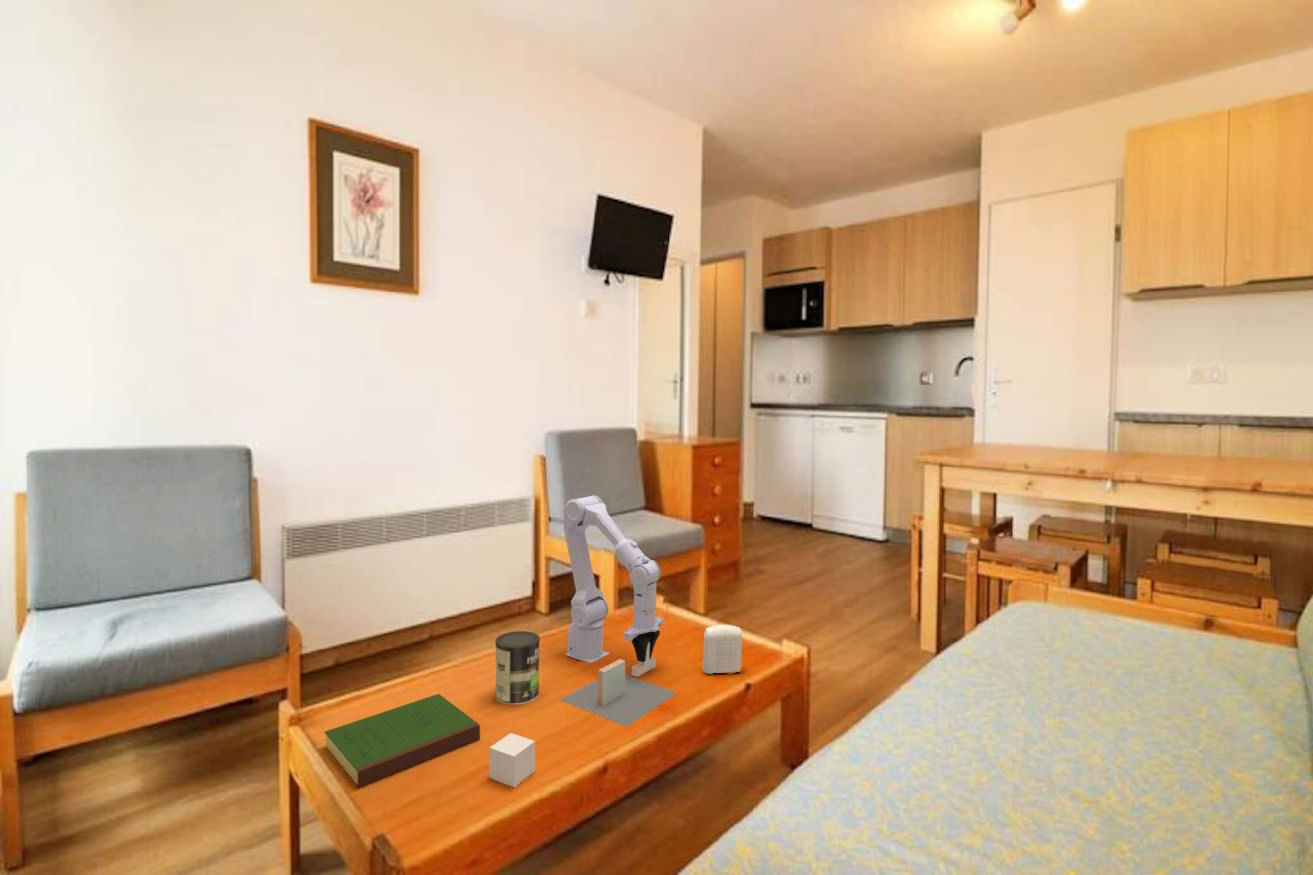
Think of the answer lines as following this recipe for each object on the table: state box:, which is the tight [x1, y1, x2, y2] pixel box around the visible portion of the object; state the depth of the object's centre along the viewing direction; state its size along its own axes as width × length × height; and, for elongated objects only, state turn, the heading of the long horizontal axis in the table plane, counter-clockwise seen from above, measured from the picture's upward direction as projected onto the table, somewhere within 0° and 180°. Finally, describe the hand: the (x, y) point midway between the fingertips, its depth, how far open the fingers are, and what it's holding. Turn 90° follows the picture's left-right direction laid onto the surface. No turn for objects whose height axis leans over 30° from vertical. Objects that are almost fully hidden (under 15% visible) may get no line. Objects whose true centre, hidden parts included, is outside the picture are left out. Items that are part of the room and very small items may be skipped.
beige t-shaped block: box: [630, 642, 657, 678], centre depth 166 cm, size 2×8×8 cm, turn 144°
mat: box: [559, 674, 678, 728], centre depth 152 cm, size 20×20×1 cm
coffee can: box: [494, 630, 541, 705], centre depth 152 cm, size 10×10×14 cm
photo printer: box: [702, 624, 743, 675], centre depth 167 cm, size 10×4×12 cm, turn 98°
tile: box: [597, 658, 626, 706], centre depth 150 cm, size 2×8×8 cm, turn 144°
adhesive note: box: [489, 733, 536, 788], centre depth 121 cm, size 6×6×6 cm
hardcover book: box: [324, 693, 481, 789], centre depth 131 cm, size 25×19×4 cm
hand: (644, 659), depth 166 cm, fingers closed on beige t-shaped block, 2 cm apart
